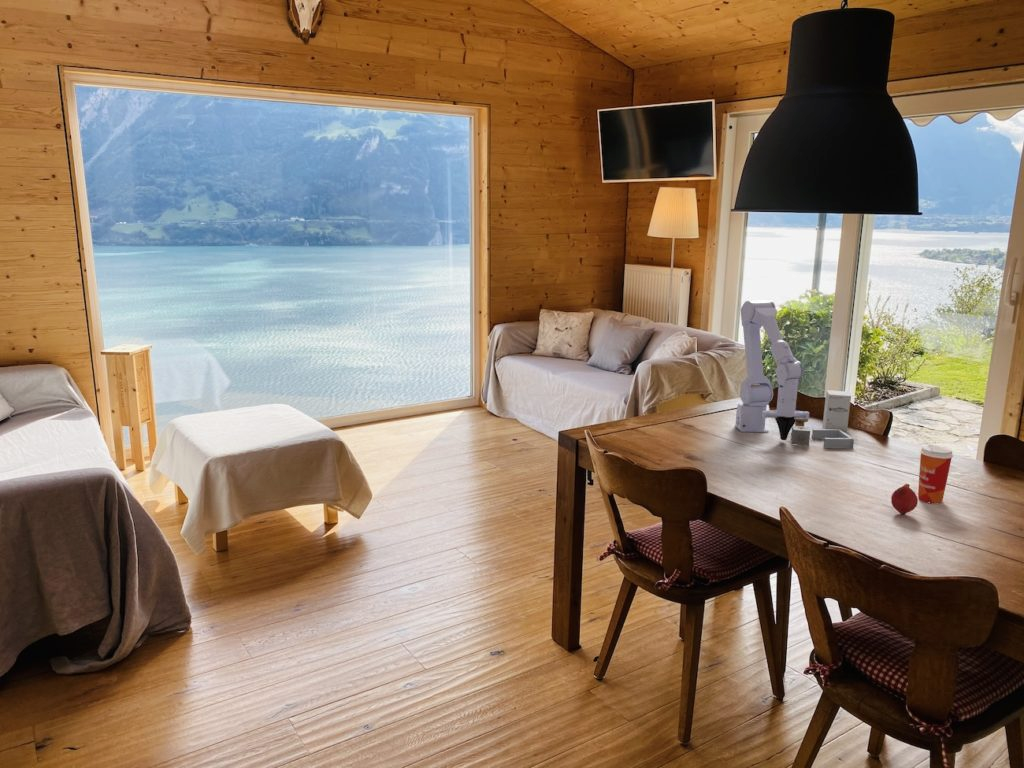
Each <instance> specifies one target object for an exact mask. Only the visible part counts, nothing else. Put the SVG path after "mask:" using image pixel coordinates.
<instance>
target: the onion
mask: <svg viewBox="0 0 1024 768" xmlns="http://www.w3.org/2000/svg"><path fill="white" fill-rule="evenodd" d="M890 501H891V505H892V507H893V508H894V509H895V510H896V511H897V512H898V513H899V514H900V515H906V514H909V513H910V512H912V511H913V510H915V509H916V508H917V506H918V501H919V499H918V495H917V494H916V493H915V491H914V490H913V489H912V488H911V487H910V484H909V483H904V484H903V485H902V486H901V487H899V488H897V489H895V490H894V491H893V492H892V494H891V498H890Z"/></svg>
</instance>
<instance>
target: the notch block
mask: <svg viewBox="0 0 1024 768" xmlns="http://www.w3.org/2000/svg"><path fill="white" fill-rule="evenodd" d="M811 433H812V435H811V439H812V440H813V439H814V440H819V439H820V440H821V439H823V449H853V448H854V444H855V443H854V442H855V438H853V437H851V436H850V435H849V434H847V433H846V432H845V431H842V430H840V429H825V428H821V429H820V428H812V432H811Z"/></svg>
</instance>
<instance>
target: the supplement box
mask: <svg viewBox="0 0 1024 768" xmlns="http://www.w3.org/2000/svg"><path fill="white" fill-rule="evenodd" d="M824 399H825V400H824V410H823V419H822V426H823V429H840V430H842V431H843V432H847V431H848V426H849V425H848V424H849V416H850V410H851V409H850V408H851V399H852V396H851V394H850V392H849V391H844V390H843V391H842V390H833V389H832V390H831V389H830V390H829V389H827V390H826V392H825V398H824Z"/></svg>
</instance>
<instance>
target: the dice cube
mask: <svg viewBox="0 0 1024 768" xmlns="http://www.w3.org/2000/svg"><path fill="white" fill-rule="evenodd" d="M791 432H792V433H791ZM791 432H790V442H791V444H797V445H796V446H805V445H807V447H808V446H810V438H811V437H810V436H811V429H810V428H809V426H804V427H802V426H795V425H793V426H792V428H791Z"/></svg>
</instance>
